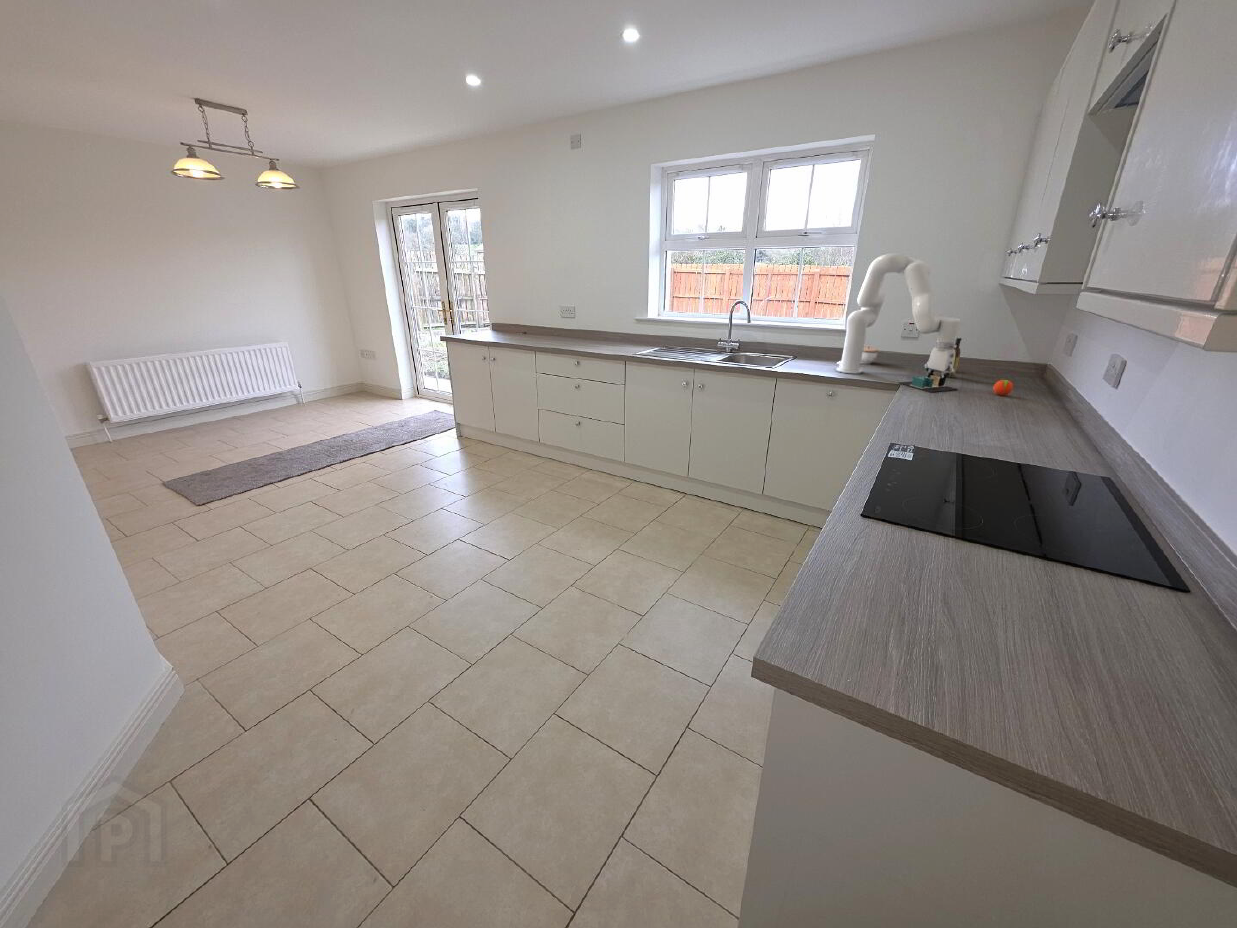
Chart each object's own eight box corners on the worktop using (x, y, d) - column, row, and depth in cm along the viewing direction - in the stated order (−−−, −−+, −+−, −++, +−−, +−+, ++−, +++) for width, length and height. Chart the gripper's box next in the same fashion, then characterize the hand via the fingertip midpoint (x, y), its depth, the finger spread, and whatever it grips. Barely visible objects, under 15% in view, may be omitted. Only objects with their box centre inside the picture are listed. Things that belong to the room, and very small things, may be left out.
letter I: (927, 383, 233) (929, 375, 232) (930, 383, 234) (932, 375, 232) (938, 386, 228) (940, 378, 227) (941, 386, 229) (943, 377, 227)
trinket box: (867, 365, 275) (871, 348, 271) (851, 361, 283) (854, 345, 280) (879, 363, 279) (883, 347, 276) (863, 360, 288) (866, 344, 284)
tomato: (1011, 398, 212) (1016, 382, 209) (992, 396, 215) (997, 380, 212) (1009, 394, 218) (1014, 379, 215) (990, 392, 221) (995, 377, 218)
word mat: (898, 383, 236) (899, 382, 236) (923, 381, 240) (924, 380, 240) (931, 392, 220) (931, 391, 220) (957, 390, 225) (957, 388, 225)
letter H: (911, 385, 231) (913, 376, 229) (920, 384, 232) (923, 376, 231) (922, 388, 225) (924, 379, 224) (931, 387, 227) (934, 378, 225)
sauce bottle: (950, 375, 252) (961, 336, 244) (957, 378, 246) (968, 338, 239) (937, 375, 253) (947, 336, 245) (943, 377, 247) (954, 338, 239)
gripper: (968, 348, 217) (957, 387, 224) (934, 342, 232) (925, 379, 239) (955, 349, 215) (945, 389, 222) (922, 343, 230) (913, 380, 237)
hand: (934, 383), depth 231 cm, fingers closed on letter I, 5 cm apart
